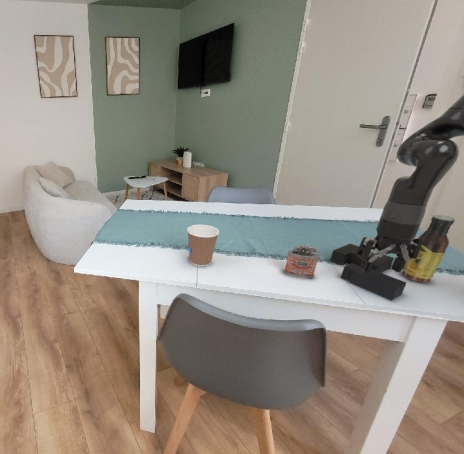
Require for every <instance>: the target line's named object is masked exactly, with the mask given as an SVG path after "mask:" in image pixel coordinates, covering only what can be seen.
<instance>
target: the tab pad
mask: <svg viewBox="0 0 464 454" xmlns="http://www.w3.org/2000/svg"><path fill="white" fill-rule="evenodd" d="M340 279H343V280H345V281H348V282H349V284H351V285H354V286H356V287H359V288H360V289H364V290H365V291H368V292H370V293H373V294H375V295H378V296H380V297H382V298H384V299H386V300H389V301H393V300H395V299H397V298H399V297H400V296H402V295H403V293H404V290H405V287H406V286H407V281H404V280H401V279H398V278H396V277H394V276H391V275H388V274H385V273H384V272H382V273H380V272H377V271H375V270H372V269H371V270H370V273H364V272H363V271H361V269H360V266H358V265H356V264H353V263H351V264H349V263H347V264H345V265H343V268H342V272H341V275H340Z"/></svg>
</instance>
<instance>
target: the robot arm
mask: <svg viewBox="0 0 464 454" xmlns="http://www.w3.org/2000/svg"><path fill="white" fill-rule="evenodd" d="M458 137H464V94H462V95H461V96H460V97H459V99H457V100H456V101H455V102H454V103H453V104H452V105H450V106H449V108H447V110H446V111H444V112H443V113H442V114H441V115H440V116H439V117H437V118H435V119H434V120H432V121H430V122H429V123H427V124H426V125H424V126H422V127H421V128H419V129H418V130H417V131H416V132H414V133H412V134H411V135H410V136H408V137H407V138H406V139H405V140H404V141H403V142H402V143H401V144H400V145H399V147H398V149H397V151H396V159H397V161H398V162H399V163H401V164H403V165H405V166H409V167H412V168H415V169H414V171H413V172H412V174H410V175H409V176H408V175H406V176H401V177H398V178H397V179H396V180H395V181H394V183H393V185H392V188H391V191H390V194H389V196H388V199H387V201H386V202H385V204H384V207H383V209H382V212H381V215H380V218H379V220H378V223H377V225H376V229H375V230H376V236H375V237H374V238H369V237H367V236H364V237H362V239H361V241H360V244H359V245H358V246H359V248H358V251H357V253H356V256H357V257H359V258H361V259H362V263H361V266H360V269H361V271H363V272H364V273H370V270H371V267H372V265H373V261H374V260H375V259H376V258H378V257H382V256H383V255H391V254H392V255H396V257H394V259H393V262H392V264H391V270H393V272H396V273H402V272H403V269H404V266H405V264H406V262H407V261H408V260H409V259H411V258H413V259H416V258H417V257H418V254H419V251H420V248H421V246H422V243H423V239H421V238H419V237H420V236H417V234H418V231H419V229H420V226H421V224H422V222H423V219H424V217H425V215H426V211H427V207H428V203H429V201H430V199H431V196H432V194H433V192H434V189H435V188H436V187H437V185H438V184H439V183H440V182H441V181H442V180H443V178H444V177H445V176H446V175H447V174H448V173H449V171H450V170H451V169H452V168H453V167H454V166H455V164H456V162H457V160H458V158H459V154H460V148H459V145H458V144H457V142H455V141H454V140H452V139H453V138H458ZM376 250H377V251H376ZM412 250H413V253H412V252H411V251H412ZM363 251H364V254H362V253H363ZM371 254H373V255H372V256H371V257H369V256H370V255H371Z"/></svg>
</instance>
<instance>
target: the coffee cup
mask: <svg viewBox="0 0 464 454" xmlns="http://www.w3.org/2000/svg"><path fill="white" fill-rule="evenodd" d="M186 232H187V239H188V240H187V241H188V242H187V243H188V257H189V261H190V263H191V264H193V265H194V266H198V267H206V266H209V265H210V264H211V262H212V260H213V255H214V252H215V247H216V244H217V239H218V235H219V234H220V230H219V229H218V228H217V227H216V226H212V225H210V224H209V225H208V224H193V225H190V226H188V227H187V228H186Z"/></svg>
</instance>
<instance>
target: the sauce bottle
mask: <svg viewBox="0 0 464 454" xmlns="http://www.w3.org/2000/svg"><path fill="white" fill-rule="evenodd" d="M455 220H456V219H455V218H454V217H452V216H449V215H444V214H435V215H433V216H432V217H431V219H430V221H431V222H430V223H429V226H428V227H427V229H426V230H425V231H424V232H423V233H422V234H420V236H418V237H419V238H421V239H423V243H422V246H421V248H420V251H419V254H418V257H417V258H416V259H413V258H411V259H409V260H408V261H407V262H406V264H405V266H404V269H403V270H402V271H401V273H402V276H404V277H405V278H406V279H408V280H410V281H413V282H417V283H429V282H431V280H432V279H433V277H434V275H435V273H436V272H437V269H438V267H439V266H440V264H441V261H442V260H443V257H444V255H445V254H446V250H447V248H448V246H449V244H450V241H449V238H448V233H449V231H450V228H451V226H452V225H454V222H455ZM411 252H412V253H413V250H412V251H411Z"/></svg>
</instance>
